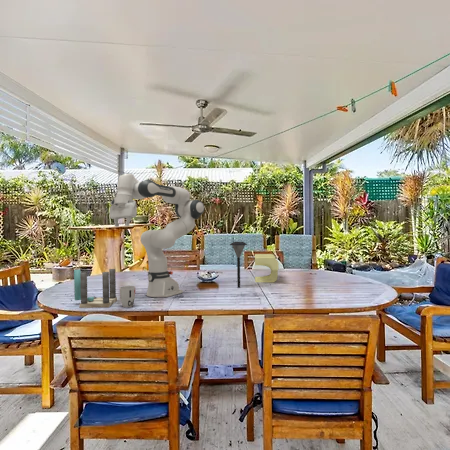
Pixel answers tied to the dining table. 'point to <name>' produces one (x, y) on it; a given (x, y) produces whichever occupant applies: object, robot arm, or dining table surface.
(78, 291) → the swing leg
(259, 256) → the yellow curved hook shape
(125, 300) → the cup
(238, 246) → the solar garden light
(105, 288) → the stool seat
